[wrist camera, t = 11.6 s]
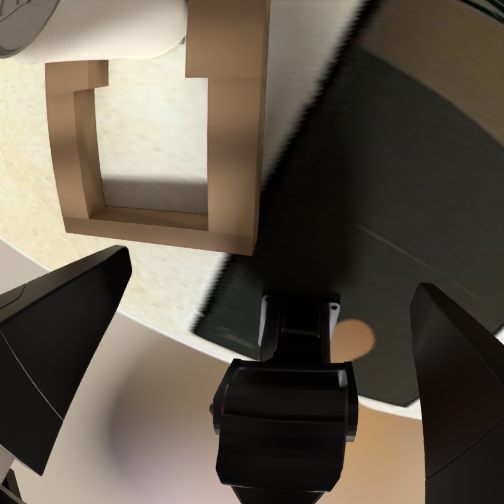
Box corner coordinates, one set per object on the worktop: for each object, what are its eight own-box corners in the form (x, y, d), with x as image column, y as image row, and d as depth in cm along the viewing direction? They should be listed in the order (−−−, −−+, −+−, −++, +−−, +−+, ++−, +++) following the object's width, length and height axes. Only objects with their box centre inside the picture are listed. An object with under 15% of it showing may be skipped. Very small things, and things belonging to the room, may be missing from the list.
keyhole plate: (257, 238, 23) (252, 255, 21) (82, 219, 25) (66, 232, 23) (273, -58, 12) (268, -74, 10) (71, -19, 14) (51, -23, 11)
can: (194, 56, 17) (69, 45, 7) (111, 65, 17) (-27, 84, 7) (200, -28, 13) (95, -101, 3) (116, -12, 14) (-12, -37, 4)
